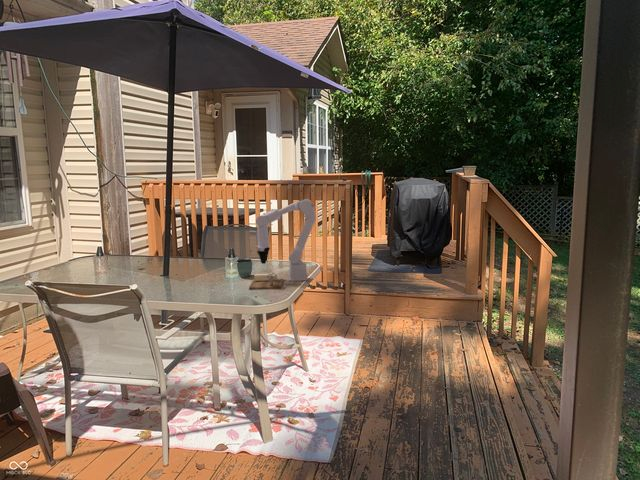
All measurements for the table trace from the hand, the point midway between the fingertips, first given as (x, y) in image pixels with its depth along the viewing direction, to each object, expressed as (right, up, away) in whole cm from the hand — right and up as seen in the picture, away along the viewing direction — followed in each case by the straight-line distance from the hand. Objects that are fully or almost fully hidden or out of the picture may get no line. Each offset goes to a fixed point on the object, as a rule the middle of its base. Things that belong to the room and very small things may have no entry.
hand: (264, 262), depth 271 cm
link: (+2, -9, -5) cm, 11 cm away
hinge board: (+3, -11, -11) cm, 16 cm away
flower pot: (-12, -9, +12) cm, 19 cm away
